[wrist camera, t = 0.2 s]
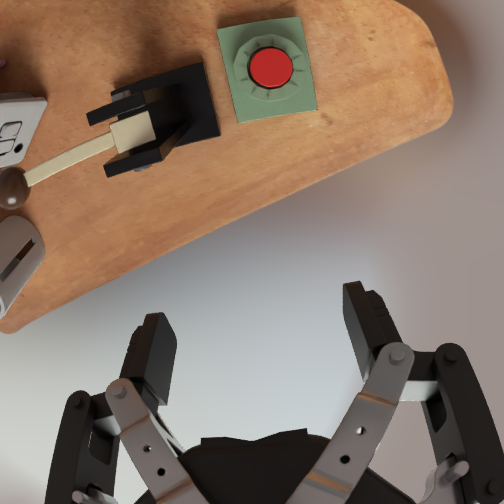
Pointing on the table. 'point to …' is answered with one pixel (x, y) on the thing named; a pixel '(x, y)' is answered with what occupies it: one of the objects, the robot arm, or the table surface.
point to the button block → (253, 93)
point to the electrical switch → (18, 124)
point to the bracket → (162, 115)
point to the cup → (11, 268)
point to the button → (271, 67)
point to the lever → (74, 157)
